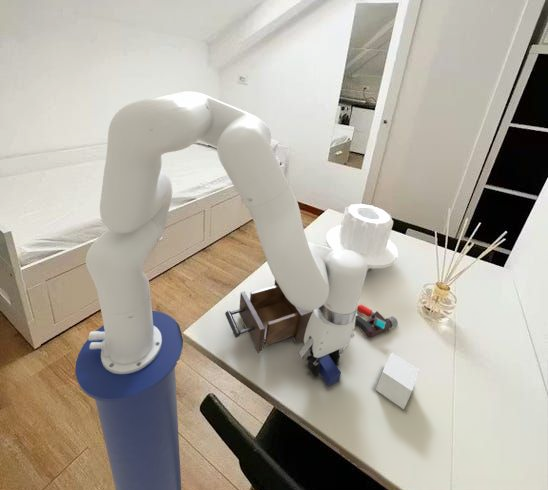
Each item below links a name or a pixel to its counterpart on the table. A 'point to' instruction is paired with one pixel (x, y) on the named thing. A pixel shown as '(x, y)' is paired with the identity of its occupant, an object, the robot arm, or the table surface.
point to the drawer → (265, 316)
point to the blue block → (329, 370)
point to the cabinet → (301, 321)
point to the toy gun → (374, 322)
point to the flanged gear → (365, 235)
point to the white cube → (397, 380)
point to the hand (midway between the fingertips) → (322, 365)
